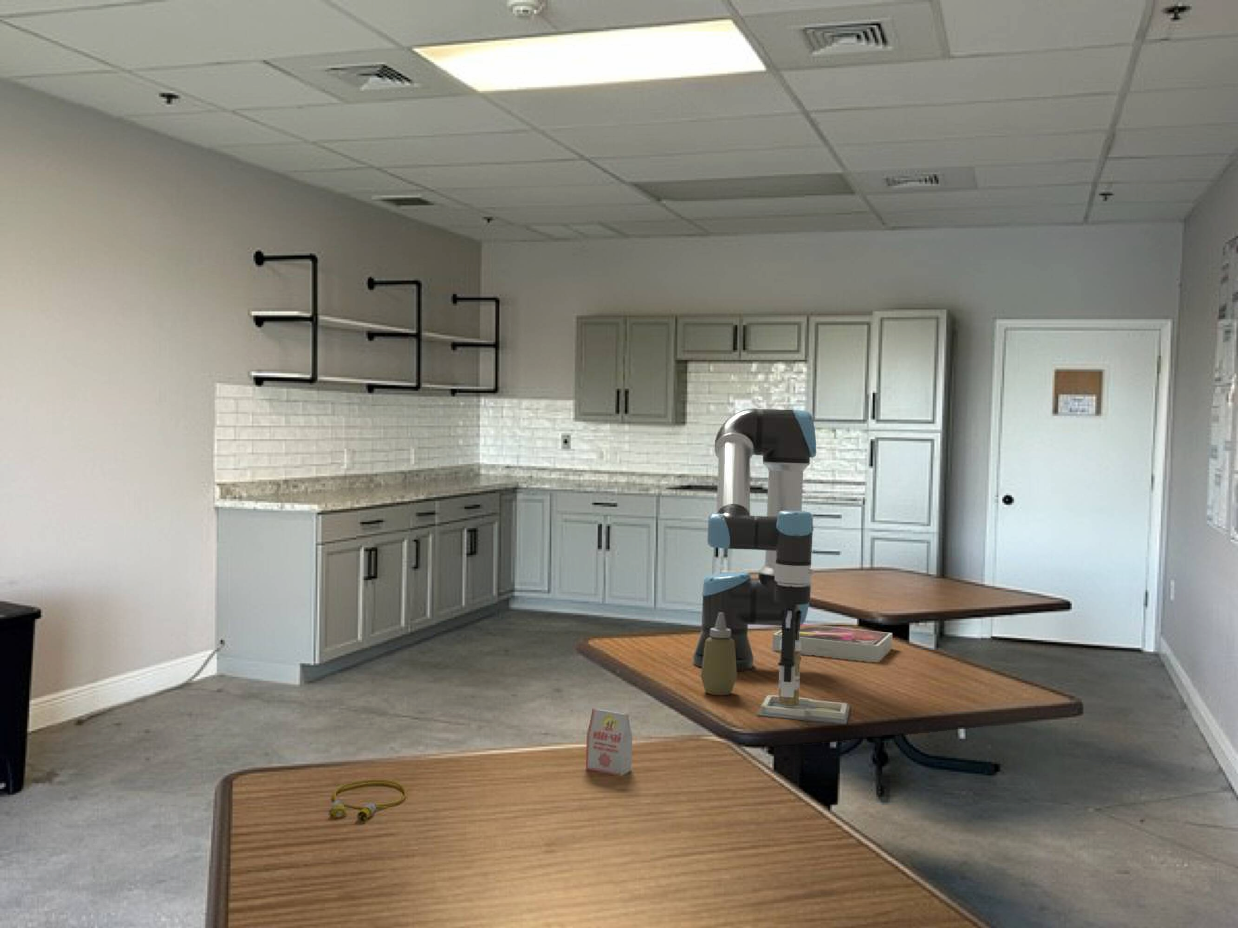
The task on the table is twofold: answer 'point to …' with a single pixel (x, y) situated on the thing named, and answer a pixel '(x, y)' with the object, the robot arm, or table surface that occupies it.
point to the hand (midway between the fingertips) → (788, 693)
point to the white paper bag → (609, 743)
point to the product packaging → (840, 643)
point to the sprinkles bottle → (795, 700)
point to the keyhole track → (806, 710)
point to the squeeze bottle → (719, 660)
